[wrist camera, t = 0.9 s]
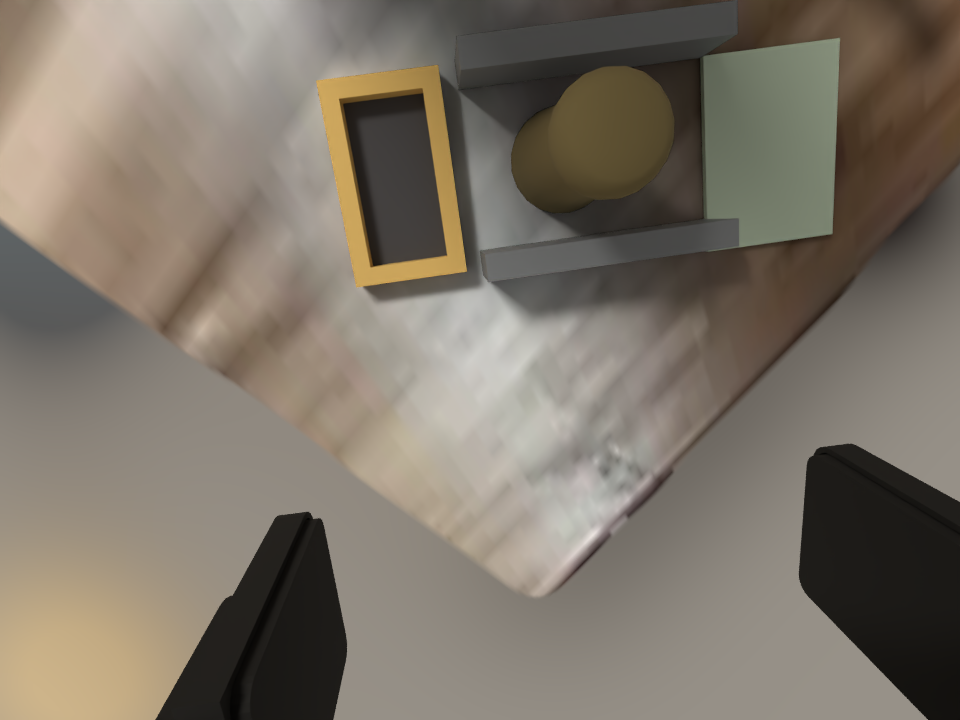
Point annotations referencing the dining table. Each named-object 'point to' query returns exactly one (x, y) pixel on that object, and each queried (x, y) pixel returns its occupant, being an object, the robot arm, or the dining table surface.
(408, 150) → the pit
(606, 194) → the cork
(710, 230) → the grey parallel walls
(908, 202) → the dining table surface
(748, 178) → the mat
